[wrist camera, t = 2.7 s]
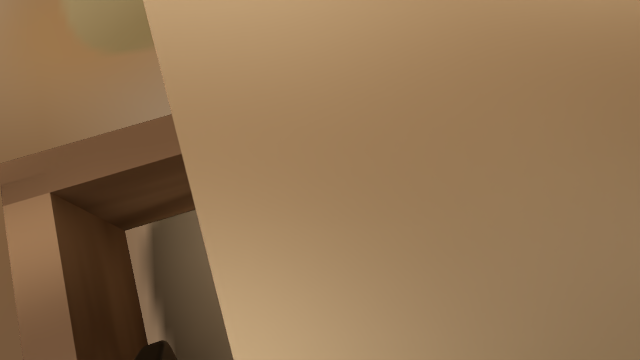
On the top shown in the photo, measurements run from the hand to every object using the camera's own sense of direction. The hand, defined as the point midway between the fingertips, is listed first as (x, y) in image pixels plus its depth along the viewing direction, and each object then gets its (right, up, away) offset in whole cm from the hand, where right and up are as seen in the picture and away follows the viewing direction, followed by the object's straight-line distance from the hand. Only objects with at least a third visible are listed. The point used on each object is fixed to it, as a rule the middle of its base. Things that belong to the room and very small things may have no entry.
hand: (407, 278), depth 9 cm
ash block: (0, -1, +8) cm, 8 cm away
